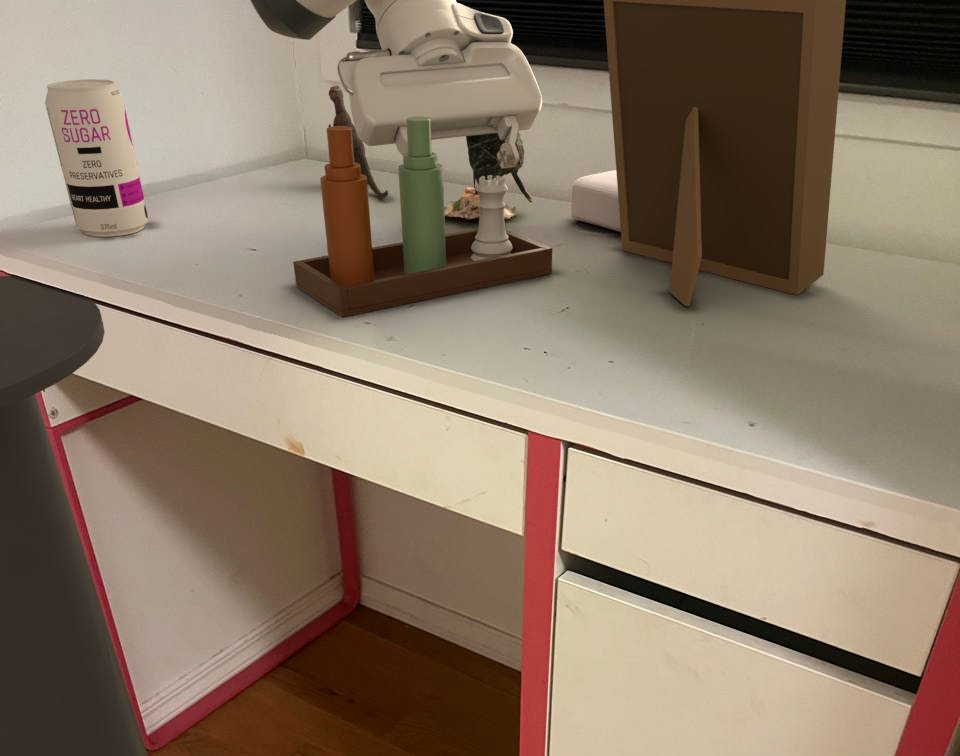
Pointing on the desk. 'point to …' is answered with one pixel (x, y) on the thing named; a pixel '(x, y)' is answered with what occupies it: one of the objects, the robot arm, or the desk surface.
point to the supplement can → (97, 156)
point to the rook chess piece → (491, 220)
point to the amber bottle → (346, 212)
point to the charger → (597, 200)
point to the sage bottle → (421, 201)
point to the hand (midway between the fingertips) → (470, 169)
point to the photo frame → (726, 135)
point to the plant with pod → (486, 174)
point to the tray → (422, 274)
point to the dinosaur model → (358, 146)
